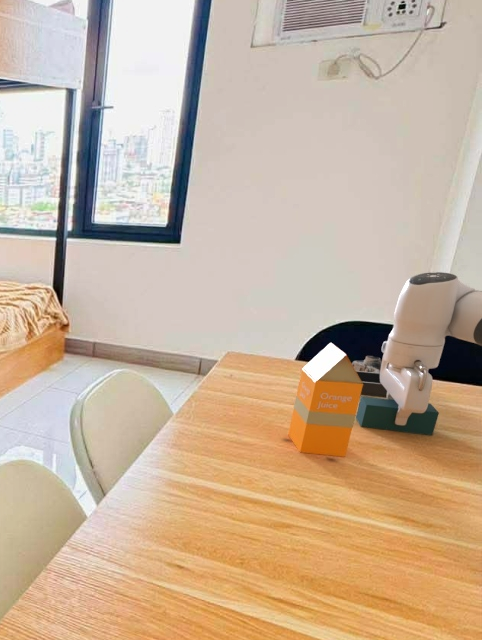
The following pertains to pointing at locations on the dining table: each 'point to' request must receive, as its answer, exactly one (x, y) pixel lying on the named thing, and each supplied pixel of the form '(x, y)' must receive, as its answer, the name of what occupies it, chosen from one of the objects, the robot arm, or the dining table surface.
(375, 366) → the grey shoe
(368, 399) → the dark teal block
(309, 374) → the orange juice
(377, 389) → the dark grey tray
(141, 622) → the dining table surface
